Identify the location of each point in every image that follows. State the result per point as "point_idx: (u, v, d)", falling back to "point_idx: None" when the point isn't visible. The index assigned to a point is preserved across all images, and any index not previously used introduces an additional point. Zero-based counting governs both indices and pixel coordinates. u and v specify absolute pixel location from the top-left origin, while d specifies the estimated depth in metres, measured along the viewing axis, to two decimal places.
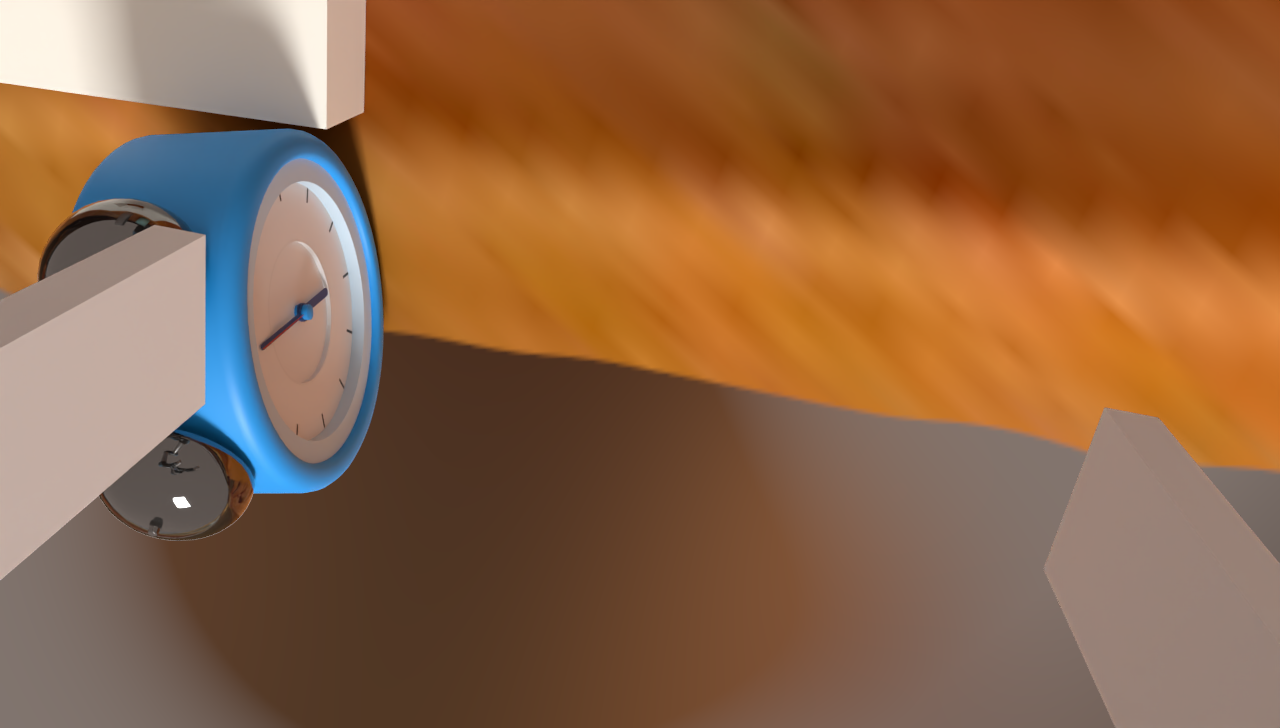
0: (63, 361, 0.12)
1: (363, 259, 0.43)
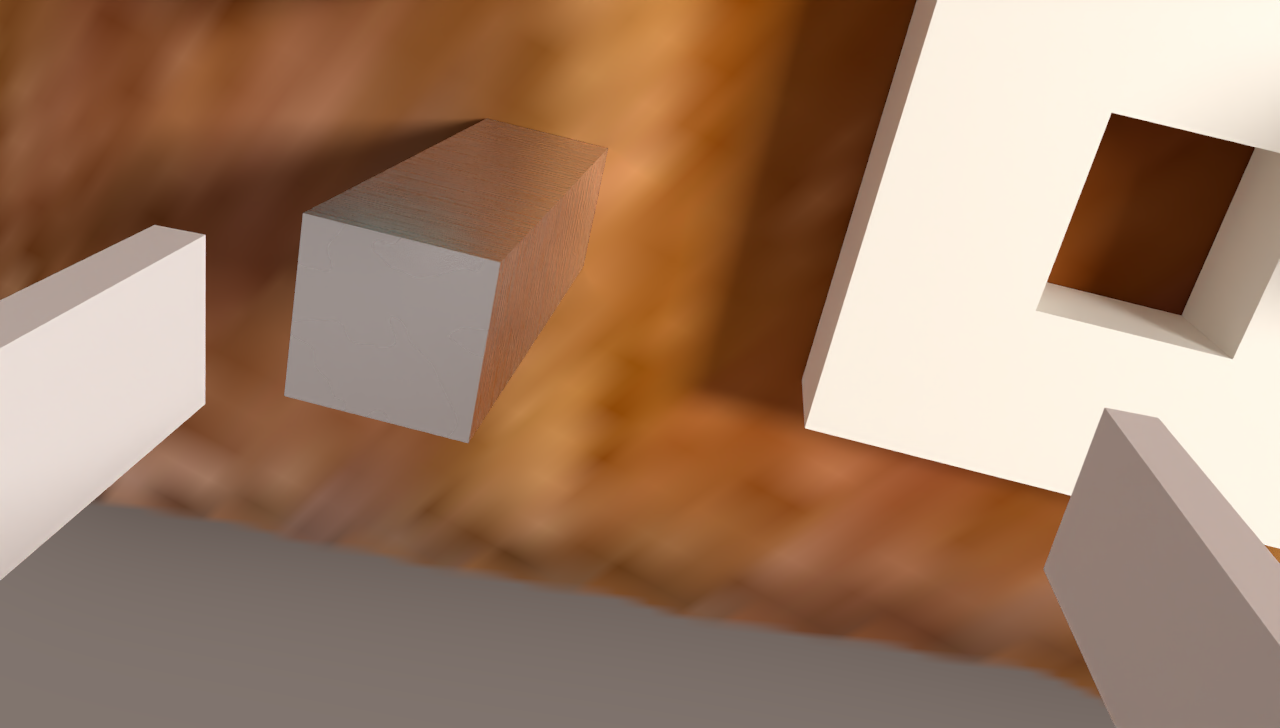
0: (63, 362, 0.12)
1: None
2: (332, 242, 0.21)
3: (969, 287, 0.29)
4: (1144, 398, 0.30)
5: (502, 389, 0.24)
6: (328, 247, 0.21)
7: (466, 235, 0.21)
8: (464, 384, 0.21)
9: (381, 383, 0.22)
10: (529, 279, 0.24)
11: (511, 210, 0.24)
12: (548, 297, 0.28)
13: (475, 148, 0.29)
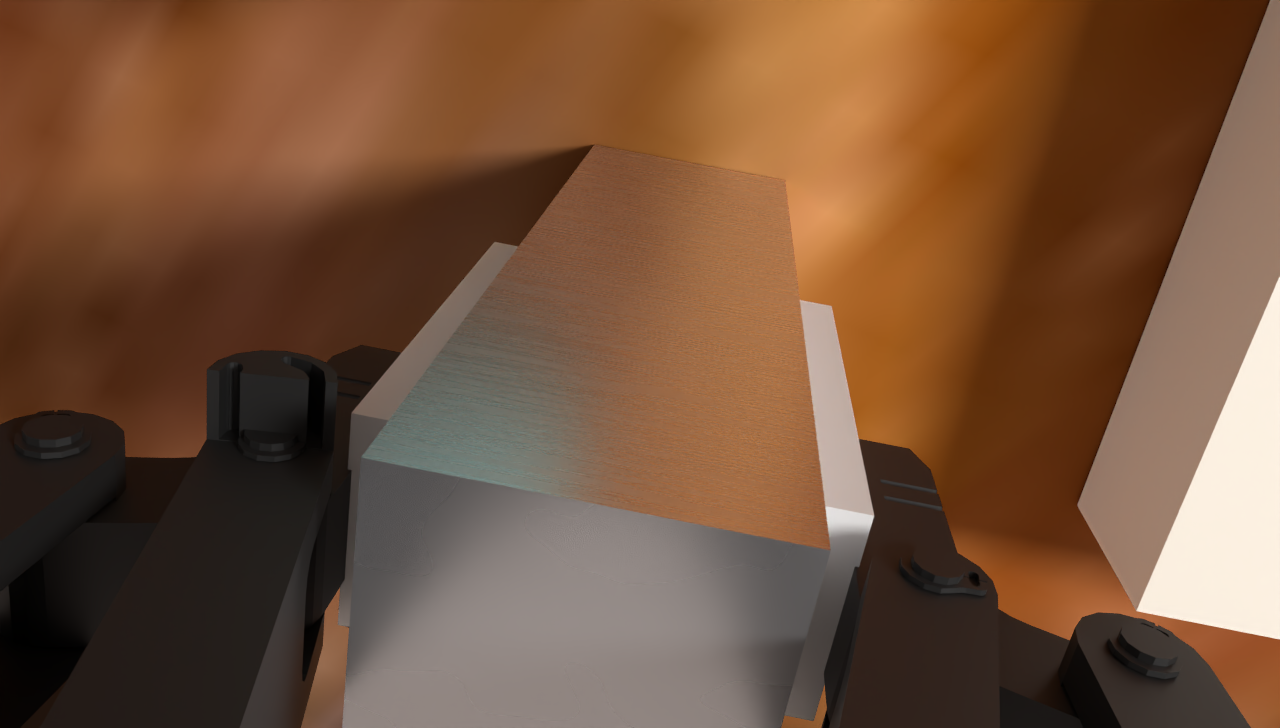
0: None
1: None
2: (432, 517, 0.09)
3: None
4: None
5: None
6: (422, 528, 0.09)
7: (716, 462, 0.10)
8: None
9: None
10: None
11: (747, 358, 0.12)
12: None
13: (608, 207, 0.17)
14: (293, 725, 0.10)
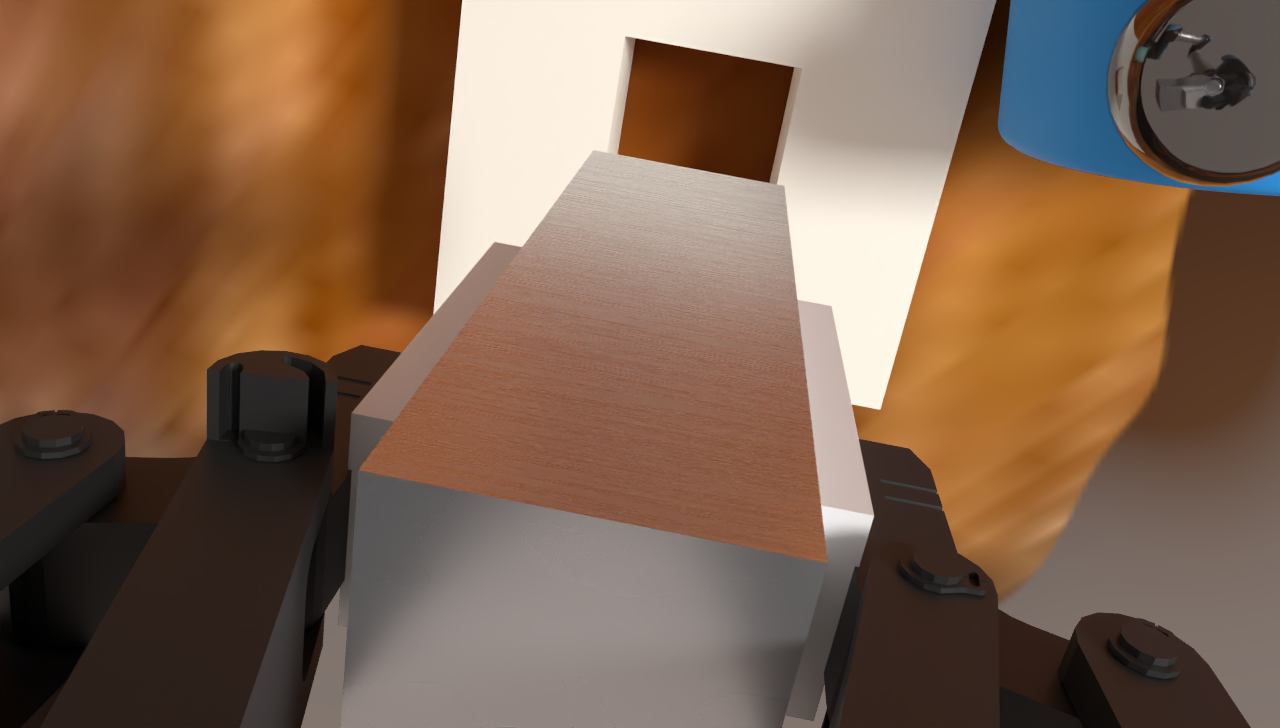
0: None
1: None
2: (429, 530, 0.09)
3: (541, 193, 0.35)
4: None
5: None
6: (419, 539, 0.09)
7: (712, 473, 0.10)
8: None
9: None
10: None
11: (745, 367, 0.12)
12: None
13: (607, 214, 0.17)
14: (293, 725, 0.10)
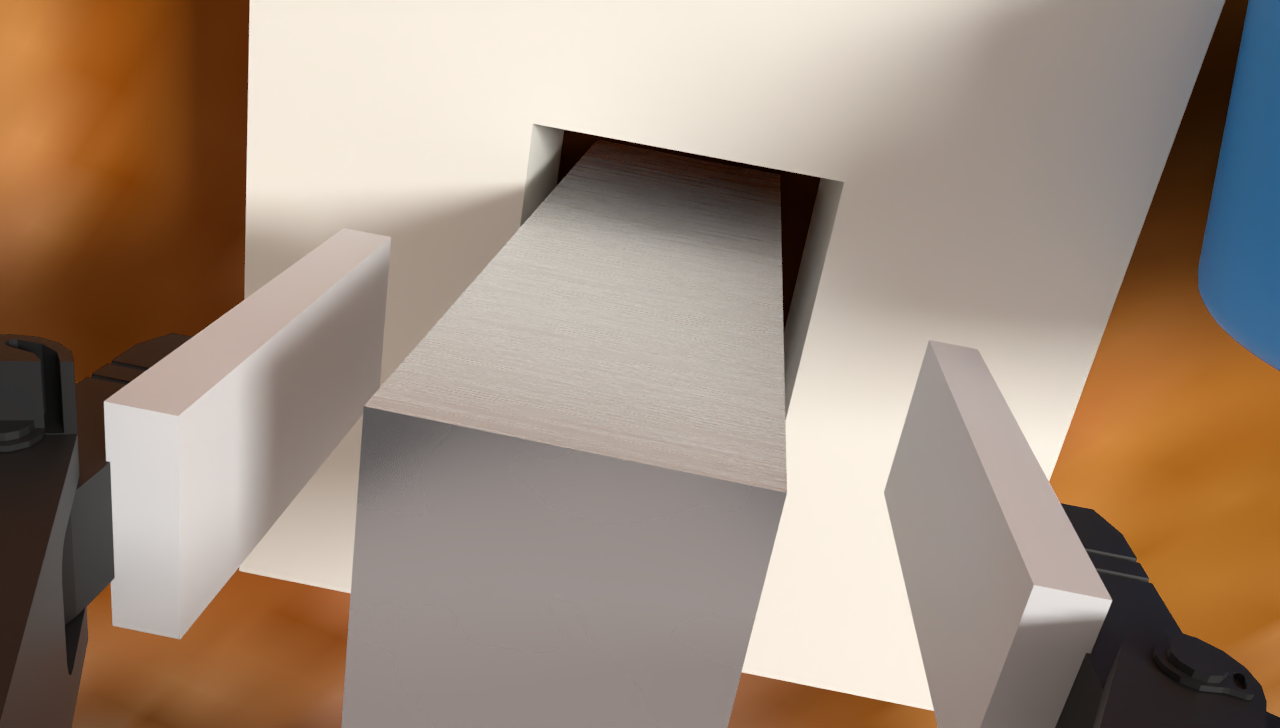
0: (302, 352, 0.13)
1: None
2: (427, 461, 0.10)
3: None
4: None
5: None
6: (417, 471, 0.10)
7: (689, 417, 0.11)
8: (701, 717, 0.11)
9: (531, 715, 0.11)
10: None
11: (727, 330, 0.13)
12: None
13: (606, 196, 0.18)
14: (63, 720, 0.09)
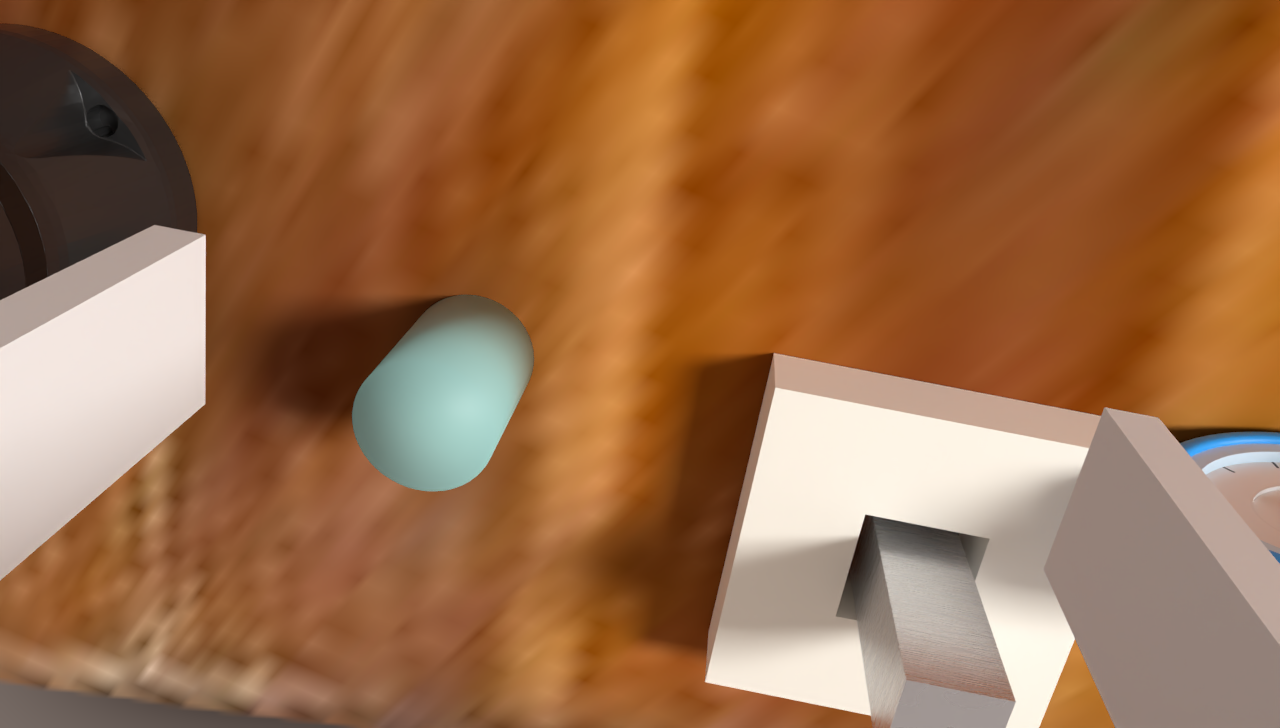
0: (63, 361, 0.12)
1: (1259, 444, 0.47)
2: (920, 693, 0.38)
3: (795, 604, 0.49)
4: None
5: None
6: (917, 695, 0.38)
7: (981, 675, 0.39)
8: None
9: None
10: None
11: (975, 631, 0.41)
12: None
13: (898, 545, 0.47)
14: None
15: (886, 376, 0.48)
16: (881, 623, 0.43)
